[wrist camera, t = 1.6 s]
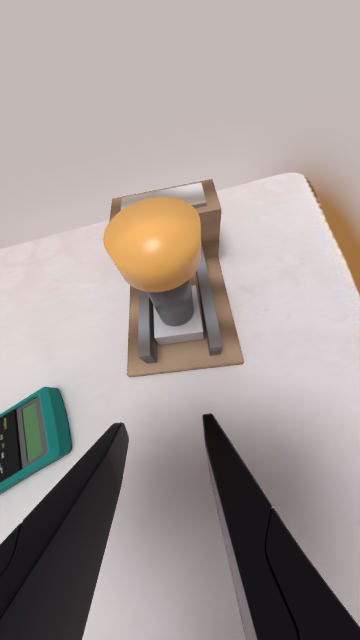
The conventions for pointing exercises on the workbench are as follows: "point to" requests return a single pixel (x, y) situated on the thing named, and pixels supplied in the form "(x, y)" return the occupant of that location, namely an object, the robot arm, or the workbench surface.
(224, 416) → the workbench surface
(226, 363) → the knob mount
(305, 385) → the workbench surface
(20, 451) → the digital multimeter
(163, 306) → the knob carriage
